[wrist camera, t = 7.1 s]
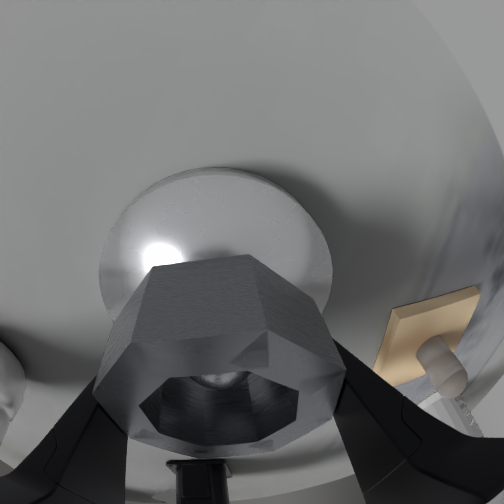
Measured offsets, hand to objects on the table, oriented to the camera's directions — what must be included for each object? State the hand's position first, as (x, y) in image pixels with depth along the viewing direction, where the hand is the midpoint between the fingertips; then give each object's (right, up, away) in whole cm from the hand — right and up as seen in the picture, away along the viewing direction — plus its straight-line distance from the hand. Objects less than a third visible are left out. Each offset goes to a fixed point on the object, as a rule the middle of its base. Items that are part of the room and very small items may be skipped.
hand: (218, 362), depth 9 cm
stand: (+14, -3, +9) cm, 17 cm away
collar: (0, 0, +1) cm, 1 cm away
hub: (-1, +2, +4) cm, 5 cm away
